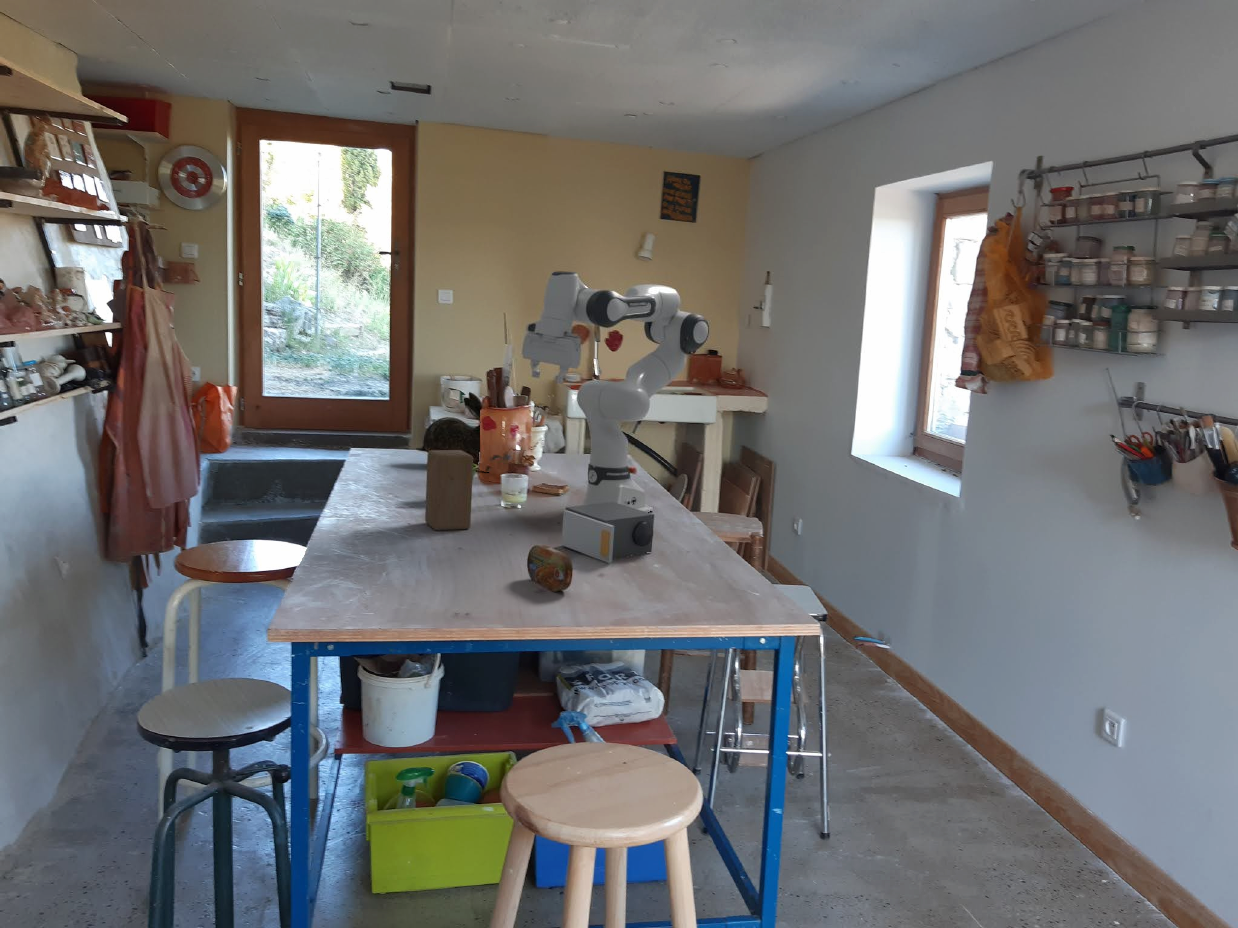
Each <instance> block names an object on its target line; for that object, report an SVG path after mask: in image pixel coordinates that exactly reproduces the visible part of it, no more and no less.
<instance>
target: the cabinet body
mask: <svg viewBox="0 0 1238 928" xmlns="http://www.w3.org/2000/svg"><path fill="white" fill-rule="evenodd" d="M564 510H568V511H571V512H574V513H577V514H580V515H583V516H586V517H589V518H592V519H595V520H598V521H601V522H604V523H607V524H610V525H613V526H614V539H613V554H612V560H615V558H617V559H622V558H621V557H623V558H628V557H627V556H629V557H632V556H631V555H635V556H638V555H637V554H641V555H644V554H643V553H647V552H651V553H652V549H653V539H654V538H653V537H654V525H655V521H654V520H655V514H654V513H652V512H649V513H648V512H644V511H641V510H638V509H635V508H631V507H628V506H625V505H622V504H618V503H615V502H608V503H599V504H590V505H583V504H582V505H574V506H566V507H565V508H564ZM647 554H648V553H647Z"/></svg>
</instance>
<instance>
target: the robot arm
mask: <svg viewBox="0 0 1238 928" xmlns="http://www.w3.org/2000/svg"><path fill="white" fill-rule="evenodd" d="M680 308H681V297H680V295H679V293H678V291H677V290H676V289H675V288H673V287H671V286H667V285H661V284H653V283H652V284H651V283H650V284H649V283H648V284H647V283H646V284H638V285H634V286H630V288H629V289H628V290H627V291H626V292H625V294H624V296H623V295H621V294H620V293H618V292H616V291H614V290H608V289H607V290H606V289H594V288H589V287H587V286H586V285H585V284H584V283H583V282H582V281H581V279H580V278H579V274H578V273H576V272H573V271H565V270H564V271H563V270H559V271H558V270H557V271H554V272H552V273H551V274H550V275H549V278H548V279H547V283H546V286H545V291H544V296H543V311H542V313H541V315H540V319H539V320H536V321H534V322H531V323H527V324H526V327H525V331H526V332H527V333H526V334H525V335H524V338H523V343H522V349H521V356H522V358H523V359H525V360H530V368H531V377H532V378H535V379H540V377H541V376H540V375H541V371H539V366H540V363H544V364H550V365H555V366H559V368H558V370H559V372H558V374H557V375H555V376H554V377H555V378H554V382H555V383H558V384H563V383H564V377H566V375H567V373H568V372H569V368H570V369H575V370H577V369H578V368H579V367H580V366H581V360H582V359H581V358H582V338H581V337H580V335H579V334H578V333H572V329H573V322H575V323H581V324H587V325H594V326H597V327H600V328H605V329H609V328H613V327H614V326H616V325H618V324H619V323H621V322H623V321H625V320H630V321H635V322H641V323H642V322H643V323H644V324H643V325H644V326H643V328H644V329H643V330H644V334H645V336H646V338H647V339H648V341H651V342H653V343H655V344H656V345H658V347H656V349H655V350H653V351H652V352H650V353H648V354H646V355H644V357H642V358H640V359H639V360H637V361H636V362H635V363H633V364H632V365H630V366H629V367H628V368H627V370H626V372H625V373H626V375H625V379H624V380H620V381H611V380H602V379H596V380H588V381H585V382H583V383H582V385H580V387H579V388H578V391H577V394H576V401H577V405H578V407H579V409H580V410H581V411H582V413H583V414H584V416H585V419H586V422H587V426H588V429H589V435H590V457H589V463H588V467H587V480H588V481H587V486H586V491H585V496H584V499H583V500H584V501H583V503H582V505H590V504H599V503H608V502H615V503H618V504H622V505H625V506H628V507H631V508H635V509H638V510H641V511H644V512H649V513H651V512H650V511H653V512H654V507H652V506H650V505H649V504H647V499H646V498H647V496H646V492H645V489H643V488H642V487H641V486H639V484H638V483H637V482H635V480H633V479H632V478H631V477H632V476H631V474H633V475H636V474H637V472H638V469H637V467H633V466H630V467H629V466H628V455H629V454H628V453H629V452H628V451H629V440H628V438H627V436H626V435H625V434H624V432H623V431H622V428H621V426H620V422H622V423H623V422H624V423H628V422H629V423H631V422H640V421H641V420H643V419H644V418H645V417H646V416H647V414H648V413H649V411H650V410H649V409H650V408H651V407H650V405H651V404H650V403H651V401H650V399H651V397H653V396H654V395H655V394H656V393H659V391H661V390H663V388H665V387H666V386H667V385H669V384H671V382H673V381H674V380H675V379H676V378H677V377H678V376H679V375H680V374H681V373H682V372H683V371H684V369H685V368H686V364H687V357H686V355H687V356H690V355H694V354H696V352H697V351H698V349H700V348H702V346H704V344H705V343H706V342H707V340H708V338H709V335H710V324H709V322H708V320H707V319H706V318H705V317H704V316H702V315H700V314H697V313H694V312H693V313H692V312H691V313H690V312H689V311H688V312H687V311H681V310H680Z"/></svg>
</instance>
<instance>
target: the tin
mask: <svg viewBox="0 0 1238 928" xmlns="http://www.w3.org/2000/svg"><path fill="white" fill-rule="evenodd" d="M526 561H527V563H526V567H527V573H528V576H529V578H530V579H531V581H532V582H533V581H534V582H533V583H535V584H537V585H539V586H541V587H543V588H545V589H547V590H549V591H551V590H552V591H551V592H553V593H554V592H561V591H562V592H563V591H565V590H568V588H569V587H570V586H571V585H572V580H573V569H574V568H573V567H574V566H573V563H572V560H571V559H570V557H569V556H568V555H567V554H566V553H565V552H563V551H559V550H557V549H555V548H552V547H550V546H548V545H533V546H532V547H531V548H530V550H529V552H528V555H527V559H526Z"/></svg>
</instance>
